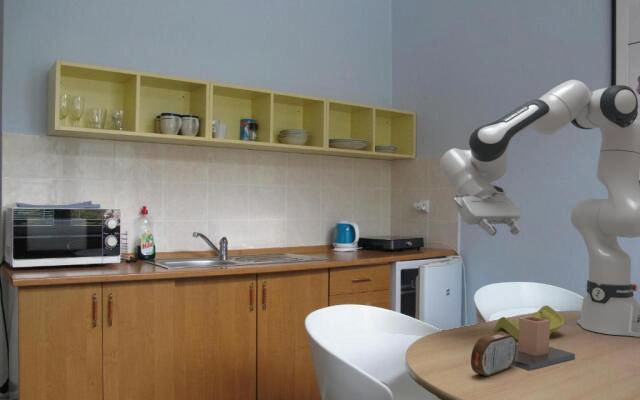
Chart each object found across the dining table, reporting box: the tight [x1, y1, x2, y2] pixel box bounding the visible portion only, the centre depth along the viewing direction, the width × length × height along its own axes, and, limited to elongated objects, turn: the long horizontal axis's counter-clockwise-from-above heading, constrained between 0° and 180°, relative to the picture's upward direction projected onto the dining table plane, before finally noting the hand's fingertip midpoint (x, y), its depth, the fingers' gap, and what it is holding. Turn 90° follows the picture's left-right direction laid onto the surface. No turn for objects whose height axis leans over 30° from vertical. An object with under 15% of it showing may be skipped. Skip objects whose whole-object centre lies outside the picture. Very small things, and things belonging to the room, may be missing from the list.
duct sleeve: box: [517, 315, 550, 356], centre depth 133 cm, size 5×5×8 cm
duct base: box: [511, 344, 576, 371], centre depth 133 cm, size 18×12×5 cm, turn 124°
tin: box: [470, 332, 518, 377], centre depth 121 cm, size 15×3×8 cm, turn 131°
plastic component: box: [492, 305, 565, 342], centre depth 155 cm, size 20×7×10 cm
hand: (505, 233), depth 144 cm, fingers open, 8 cm apart
